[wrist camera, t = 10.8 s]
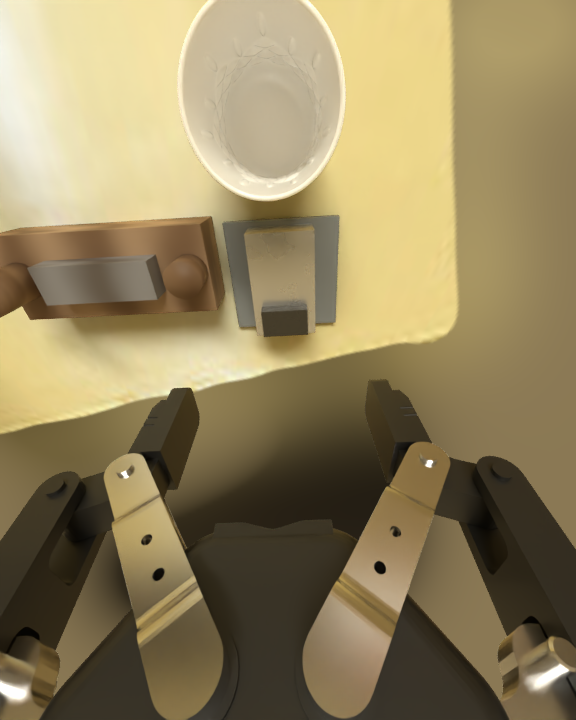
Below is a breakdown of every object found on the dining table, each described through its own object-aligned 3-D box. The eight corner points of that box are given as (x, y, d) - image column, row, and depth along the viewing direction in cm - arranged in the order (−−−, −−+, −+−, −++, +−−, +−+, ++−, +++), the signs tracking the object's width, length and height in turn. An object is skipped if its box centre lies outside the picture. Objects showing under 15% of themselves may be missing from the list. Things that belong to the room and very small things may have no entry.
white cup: (309, 198, 25) (320, 216, 16) (215, 176, 24) (177, 182, 16) (336, 73, 21) (370, 11, 12) (223, 40, 20) (176, -51, 11)
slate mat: (240, 324, 31) (239, 327, 31) (223, 221, 26) (222, 222, 25) (334, 319, 31) (335, 322, 30) (338, 214, 25) (339, 216, 25)
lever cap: (248, 227, 25) (241, 237, 22) (311, 223, 25) (315, 232, 22) (259, 321, 30) (256, 342, 27) (313, 318, 30) (316, 338, 27)
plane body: (58, 302, 30) (-13, 345, 23) (20, 228, 26) (-80, 251, 19) (225, 293, 29) (205, 334, 22) (211, 216, 26) (181, 236, 18)
